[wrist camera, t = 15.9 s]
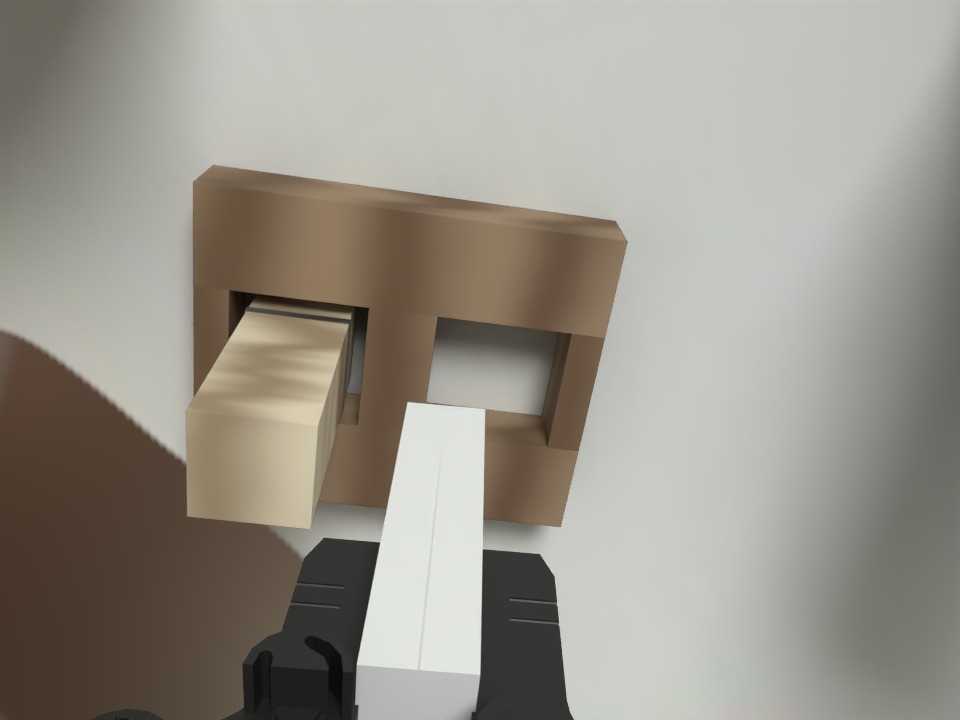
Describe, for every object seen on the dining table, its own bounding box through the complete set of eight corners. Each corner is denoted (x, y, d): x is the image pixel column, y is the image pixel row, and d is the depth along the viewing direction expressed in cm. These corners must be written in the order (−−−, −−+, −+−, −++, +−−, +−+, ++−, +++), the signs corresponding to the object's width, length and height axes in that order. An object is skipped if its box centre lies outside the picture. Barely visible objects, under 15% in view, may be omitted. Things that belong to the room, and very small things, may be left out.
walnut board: (615, 221, 37) (627, 241, 35) (554, 492, 44) (560, 527, 41) (213, 165, 36) (192, 182, 33) (211, 453, 42) (194, 487, 40)
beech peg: (358, 294, 39) (319, 424, 28) (351, 378, 41) (311, 530, 30) (261, 281, 38) (184, 408, 28) (259, 367, 40) (185, 517, 30)
